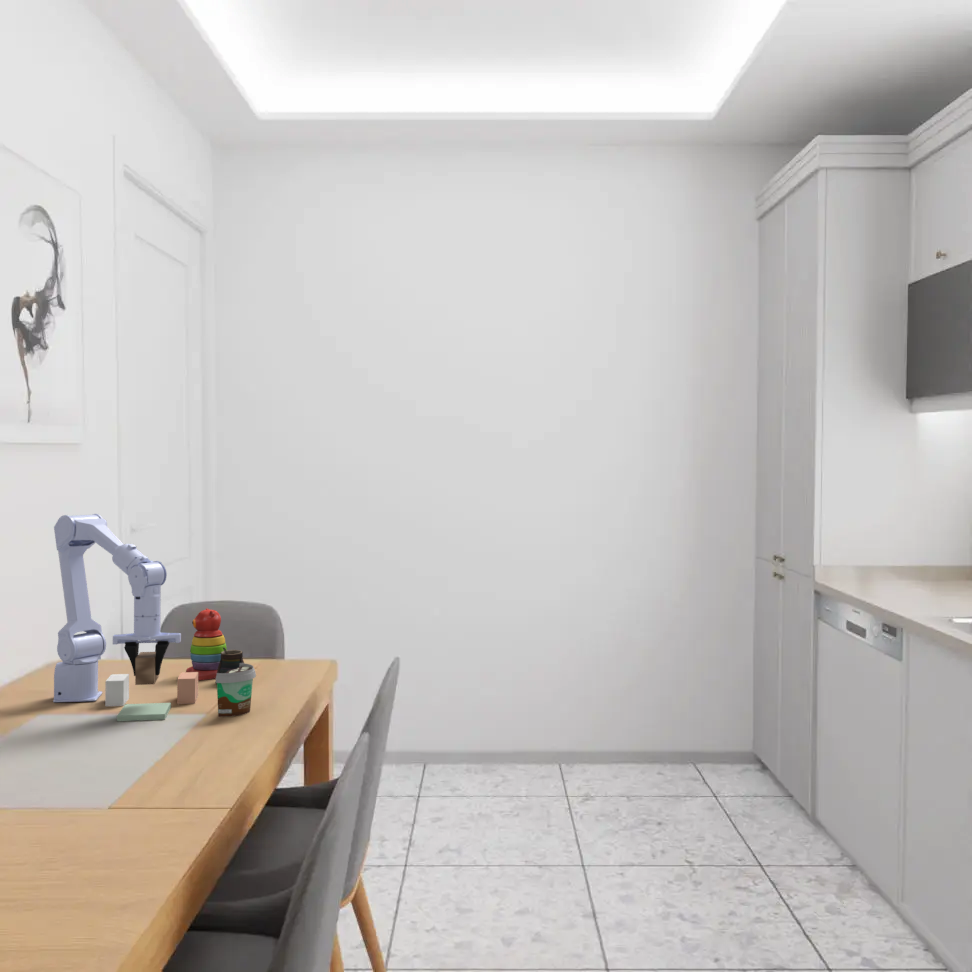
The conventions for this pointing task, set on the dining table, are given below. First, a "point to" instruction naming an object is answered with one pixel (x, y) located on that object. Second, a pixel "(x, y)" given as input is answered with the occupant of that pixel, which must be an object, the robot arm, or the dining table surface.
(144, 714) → the sage green board
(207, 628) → the stacking bear
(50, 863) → the dining table surface
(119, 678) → the pale grey brick
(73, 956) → the dining table surface
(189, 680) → the terracotta brick
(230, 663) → the mate gourd
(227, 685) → the food container
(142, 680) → the walnut brick
